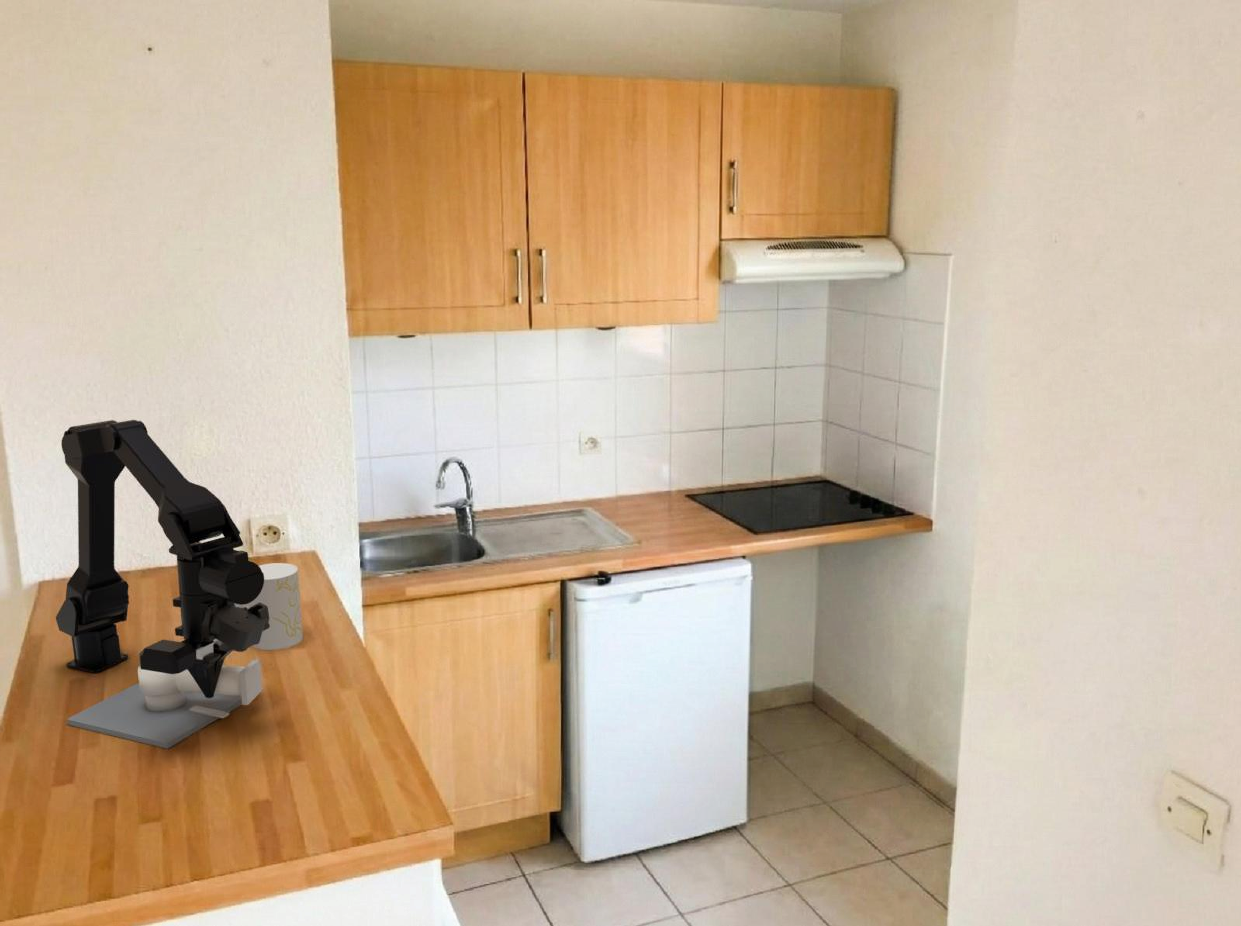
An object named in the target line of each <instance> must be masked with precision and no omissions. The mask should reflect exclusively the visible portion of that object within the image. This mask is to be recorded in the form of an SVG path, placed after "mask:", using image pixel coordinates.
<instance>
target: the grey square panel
mask: <svg viewBox="0 0 1241 926" xmlns="http://www.w3.org/2000/svg"><path fill="white" fill-rule="evenodd" d="M260 694H261V692H260V693H259V694H258V695H260ZM241 705H242V698H241V696H237V695H218V694H214V697H212V698H206V697H205V695H204V694H199V693H181V692H179V691H177V692H174V693H171V694H167V695H159V696H151V695H145V694H143V693H141V692H140V687H139V682H137V683H135V684H133V685H131V686H129V687H127V688H125V689H123V690H121V691H120V692H117V693H116V694H113V695H112V696H110V697H108V698H106V699H103V700H101V701H99V702H97V703H96V704H94V705H92V706H90V707H88V708H85V709H84V710H81V711H80V712H78V713H76V714H74V715H73V716H70V717H69V718H66V724H67V725H68V726H72V727H76V728H78V729H79V728H80V729H84V730H89V731H92V732H97V733H100V734H105V735H110V736H114V737H118V738H121V739H126V740H129V741H134V742H137V743H138V742H139V743H141V744H147V745H151V746H155V747H158V748H162V749H169V748H171V747H173V746H175V745H176V744H178V743H179V742H181V741H183V740H184V739H186V738H188V737H190V736H192V735H194V733H196V732H198V731H199V730H201V729H203V728H204V727H206V726H209V724H211V723H213V722H215V721H216V720H218V719H224V718H226V717H227V716H230V712H231V711H233V710H235V709H237V708H238V707H240V706H241Z"/></svg>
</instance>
